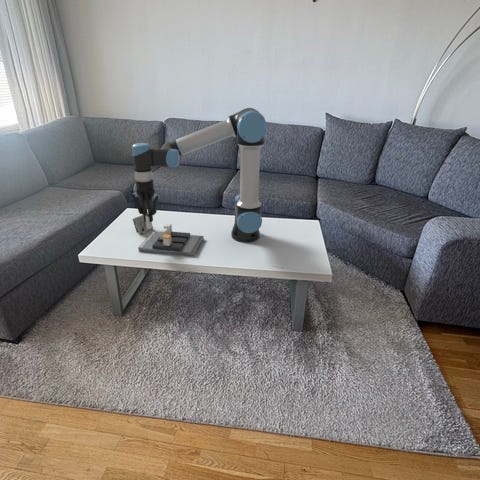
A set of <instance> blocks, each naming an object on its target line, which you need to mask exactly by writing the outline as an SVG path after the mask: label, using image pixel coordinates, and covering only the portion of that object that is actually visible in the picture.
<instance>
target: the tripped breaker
mask: <svg viewBox="0 0 480 480" xmlns="http://www.w3.org/2000/svg"><path fill="white" fill-rule="evenodd" d="M171 243H172V239H171V235H168V234H165V235H164V236H163V244H164V245H165V246H170V245H171Z"/></svg>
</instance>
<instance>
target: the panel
mask: <svg viewBox="0 0 480 480" xmlns="http://www.w3.org/2000/svg"><path fill="white" fill-rule="evenodd" d="M168 235H171V239H172V243H171V245H170V246H165V245H164V244H163V239H160V233H159V231H152V232H151V233H149V235H148V236H147V237H146V238H145V240H143V242H142V243H141V244H139V247H137V248H138V252H140V253H141V252H142V253H151V254H152V253H154V254H162V255H163V254H165V255H174V256H187V257H193V258H194V257H196V255H197V253H198V251H199V249H200V247H201V245H202V244H203V242H204V241H205V240H204V239H205V238H204V235H196V234H191V233H190V232H182V231H172V232H171V234H168Z"/></svg>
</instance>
